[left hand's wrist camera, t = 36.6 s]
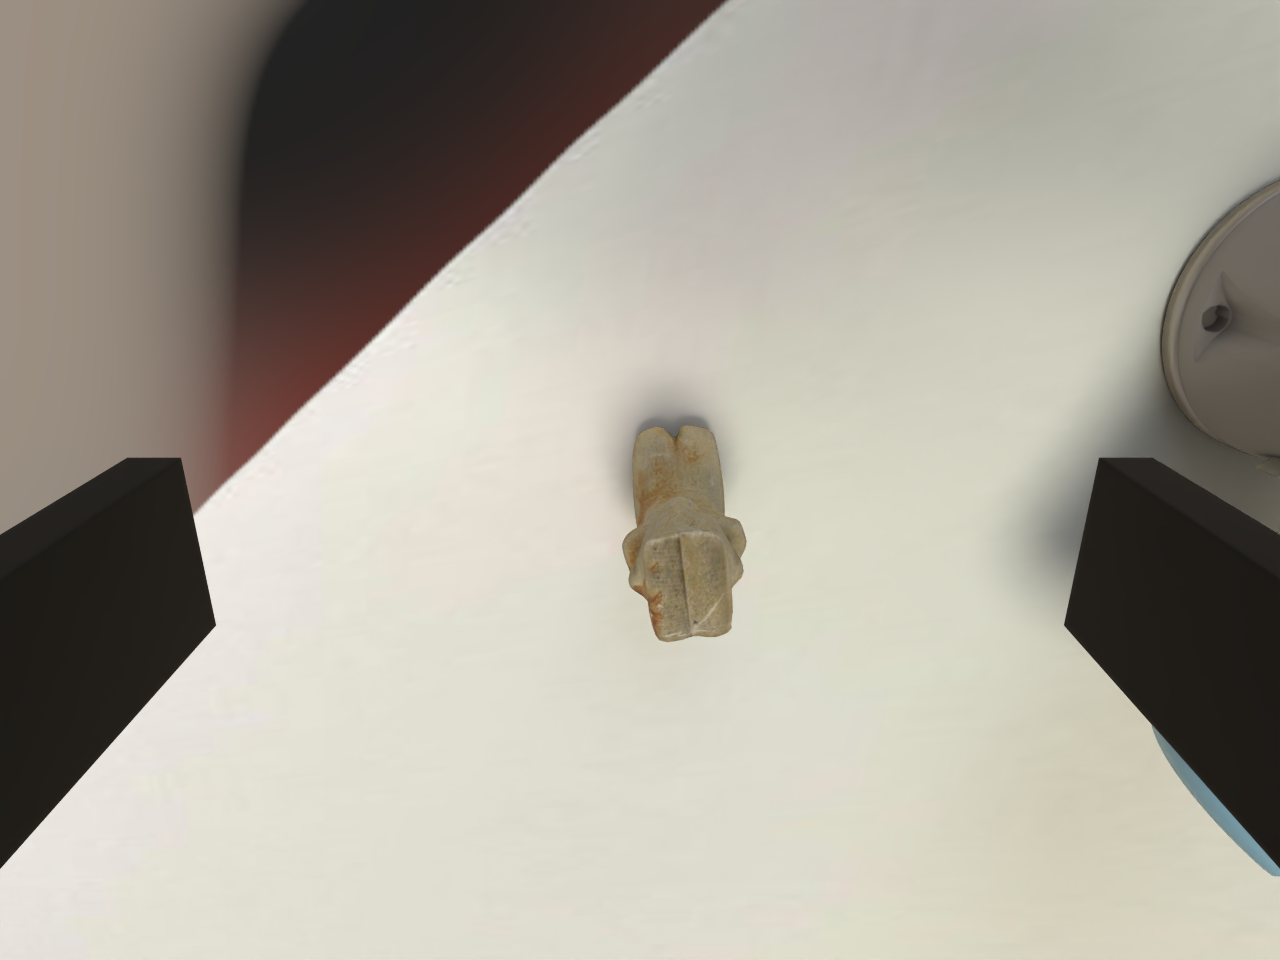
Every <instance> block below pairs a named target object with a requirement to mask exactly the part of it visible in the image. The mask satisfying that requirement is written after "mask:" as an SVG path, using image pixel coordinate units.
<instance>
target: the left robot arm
mask: <svg viewBox="0 0 1280 960" xmlns="http://www.w3.org/2000/svg"><path fill="white" fill-rule="evenodd" d="M1162 358H1163V366H1164V372H1165V376H1166V380H1167V383H1168V386H1169V389H1170V391H1171V393H1172V395H1173V397H1174V399H1175V401H1176V403H1177V404H1178V406H1179V408H1180V409H1181V410H1182V412H1183V413H1184V414H1185V415H1186V417H1187V418H1188V419H1189V420H1190V421H1191V422H1192V423H1193V424H1194V425H1195V426H1196V427H1198V428H1199V429H1200V430H1202V431H1203V432H1204V433H1206V434H1207V435H1209V436H1211V437H1213V438H1214V439H1216V440H1218V441H1220V442H1222V443H1224V444H1226V445H1228V446H1230V447H1232V448H1234V449H1237V450H1239V451H1241V452H1244V453H1247V454H1250V455H1254V456H1258V457H1262V458H1265V459H1268V460H1266V461H1264V462H1262V463H1260V464H1259V465H1257V466H1255V467H1257V468H1259V469H1261V470H1262V471H1264V472H1266V473H1268V474H1270V475H1272V476H1274V477H1275V476H1277V475H1279V474H1280V180H1279V181H1277V182H1275V183H1273V184H1271V185H1269V186H1267V187H1265V188H1264V189H1262V190H1260V191H1259V192H1257V193H1255V194H1254V195H1252V196H1251V197H1249V198H1248V199H1247V200H1245V201H1244V202H1242V203H1241V204H1240V205H1238V206H1237V207H1236V208H1235V209H1234V210H1232V211H1231V212H1230V213H1229V214H1228V215H1227V216H1226V217H1225V218H1223V219H1222V220H1221V221H1220V222H1219V223H1218V224H1217V225H1216V226H1215V227H1214V228H1213V230H1212V231H1211V232H1210V233H1209V234H1208V235H1207V236H1206V238H1205V239H1204V240H1203V241H1202V243H1201V244H1200V245H1199V247H1198V248H1197V249H1196V251H1195V252H1194V253H1193V255H1192V256H1191V258H1190V260H1189V261H1188V263H1187V264H1186V266H1185V268H1184V270H1183V271H1182V273H1181V275H1180V277H1179V279H1178V281H1177V284H1176V286H1175V288H1174V291H1173V293H1172V296H1171V299H1170V302H1169V305H1168V308H1167V312H1166V316H1165V321H1164V327H1163V335H1162ZM215 626H216V623H215V618H214V613H213V609H212V604H211V599H210V594H209V590H208V585H207V580H206V575H205V571H204V566H203V561H202V556H201V551H200V547H199V542H198V537H197V532H196V528H195V523H194V518H193V513H192V509H191V504H190V499H189V494H188V489H187V485H186V480H185V475H184V470H183V466H182V461H181V458H126V459H125V460H123V461H121V462H120V463H118V464H116V465H115V466H113V467H111V468H110V469H108V470H106V471H105V472H103V473H101V474H100V475H98V476H96V477H95V478H93V479H92V480H90V481H88V482H87V483H85V484H83V485H82V486H80V487H78V488H77V489H75V490H73V491H72V492H70V493H68V494H67V495H65V496H63V497H62V498H60V499H59V500H57V501H55V502H54V503H52V504H50V505H49V506H47V507H45V508H44V509H42V510H40V511H39V512H37V513H36V514H34V515H32V516H30V517H29V518H27V519H26V520H24V521H22V522H21V523H19V524H17V525H16V526H14V527H12V528H11V529H9V530H7V531H6V532H4V533H2V534H1V535H0V868H1V867H2V866H3V865H4V864H5V863H6V862H7V861H8V859H9V858H10V857H11V856H12V855H13V854H14V853H15V852H16V850H17V849H18V848H19V847H20V846H21V845H22V844H23V843H24V841H25V840H26V839H27V838H28V837H29V836H30V835H31V833H32V832H33V831H34V830H35V829H36V828H37V827H38V826H39V824H40V823H41V822H42V821H43V820H44V819H45V818H46V817H47V815H48V814H49V813H50V812H51V811H52V810H53V809H54V808H55V806H56V805H57V804H58V803H59V802H60V801H61V800H62V799H63V797H64V796H65V795H66V794H67V793H68V792H69V791H70V789H71V788H72V787H73V786H74V785H75V784H76V783H77V782H78V780H79V779H80V778H81V777H82V776H83V775H84V774H85V773H86V771H87V770H88V769H89V768H90V767H91V766H92V765H93V764H94V762H95V761H96V760H97V759H98V758H99V757H100V756H101V755H102V753H103V752H104V751H105V750H106V749H107V748H108V747H109V745H110V744H111V743H112V742H113V741H114V740H115V739H116V738H117V736H118V735H119V734H120V733H121V732H122V731H123V730H124V729H125V727H126V726H127V725H128V724H129V723H130V722H131V721H132V720H133V718H134V717H135V716H136V715H137V714H138V713H139V712H140V711H141V709H142V708H143V707H144V706H145V705H146V704H147V703H148V702H149V700H150V699H151V698H152V697H153V696H154V695H155V694H156V692H157V691H158V690H159V689H160V688H161V687H162V686H163V685H164V683H165V682H166V681H167V680H168V679H169V678H170V677H171V676H172V674H173V673H174V672H175V671H176V670H177V669H178V668H179V667H180V665H181V664H182V663H183V662H184V661H185V660H186V659H187V658H188V656H189V655H190V654H191V653H192V652H193V651H194V650H195V648H196V647H197V646H198V645H199V644H200V643H201V642H202V641H203V639H204V638H205V637H206V636H207V635H208V634H209V633H210V632H211V630H212V629H213V628H214V627H215ZM1064 626H1065V627H1066V628H1067V629H1068V630H1069V632H1070V633H1071V634H1072V635H1073V636H1074V637H1075V638H1076V639H1077V641H1078V642H1079V643H1080V644H1081V645H1082V646H1083V647H1084V648H1085V650H1086V651H1087V652H1088V653H1089V654H1090V655H1091V656H1092V658H1093V659H1094V660H1095V661H1096V662H1097V663H1098V664H1099V665H1100V667H1101V668H1102V669H1103V670H1104V671H1105V672H1106V673H1107V674H1108V676H1109V677H1110V678H1111V679H1112V680H1113V681H1114V682H1115V683H1116V685H1117V686H1118V687H1119V688H1120V689H1121V690H1122V691H1123V692H1124V694H1125V695H1126V696H1127V697H1128V698H1129V699H1130V700H1131V702H1132V703H1133V704H1134V705H1135V706H1136V707H1137V708H1138V709H1139V711H1140V712H1141V713H1142V714H1143V715H1144V716H1145V717H1146V718H1147V720H1148V721H1149V722H1150V723H1151V724H1152V728H1153V731H1154V734H1155V737H1156V739H1157V741H1158V743H1159V745H1160V747H1161V749H1162V751H1163V753H1164V755H1165V757H1166V758H1167V760H1168V762H1169V763H1170V765H1171V766H1172V768H1173V769H1174V771H1175V772H1176V774H1177V775H1178V777H1179V778H1180V779H1181V781H1182V782H1183V784H1184V785H1185V786H1186V788H1187V789H1188V790H1189V791H1190V793H1191V794H1192V795H1193V796H1194V798H1195V799H1196V800H1197V801H1198V802H1199V804H1200V805H1201V806H1202V807H1203V808H1204V810H1205V811H1206V812H1207V813H1208V814H1209V815H1210V816H1211V817H1212V818H1213V820H1214V821H1215V822H1216V823H1217V824H1218V825H1219V826H1220V827H1221V828H1222V829H1223V830H1224V831H1225V832H1226V833H1227V834H1228V836H1229V837H1230V838H1231V839H1232V840H1233V841H1234V842H1235V843H1236V844H1237V845H1238V846H1239V847H1240V848H1241V849H1242V850H1243V851H1245V852H1246V853H1247V854H1248V855H1249V856H1250V857H1251V858H1252V859H1253V860H1254V861H1255V862H1256V863H1257V864H1259V865H1260V866H1261V867H1262V868H1263V869H1264V870H1266V871H1267V872H1268V873H1270V874H1271V875H1272V876H1280V531H1279V532H1278V533H1276V532H1274V531H1273V530H1271V529H1269V528H1268V527H1266V526H1264V525H1263V524H1261V523H1259V522H1258V521H1256V520H1254V519H1253V518H1251V517H1250V516H1248V515H1246V514H1245V513H1243V512H1241V511H1240V510H1238V509H1236V508H1235V507H1233V506H1231V505H1230V504H1228V503H1226V502H1225V501H1223V500H1221V499H1220V498H1218V497H1217V496H1215V495H1213V494H1212V493H1210V492H1208V491H1207V490H1205V489H1203V488H1202V487H1200V486H1198V485H1197V484H1195V483H1193V482H1192V481H1190V480H1188V479H1187V478H1185V477H1184V476H1182V475H1180V474H1179V473H1177V472H1175V471H1174V470H1172V469H1170V468H1169V467H1167V466H1165V465H1164V464H1162V463H1160V462H1159V461H1157V460H1155V459H1154V458H1099V461H1098V466H1097V470H1096V475H1095V480H1094V485H1093V489H1092V494H1091V499H1090V504H1089V508H1088V513H1087V518H1086V523H1085V528H1084V532H1083V537H1082V542H1081V547H1080V551H1079V556H1078V561H1077V566H1076V571H1075V575H1074V580H1073V585H1072V590H1071V594H1070V599H1069V604H1068V609H1067V613H1066V618H1065V623H1064Z"/></svg>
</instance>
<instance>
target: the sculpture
mask: <svg viewBox="0 0 1280 960" xmlns="http://www.w3.org/2000/svg"><path fill="white" fill-rule="evenodd" d="M633 492H634V505H635V515H636V523H637V528H636V529H634V530H632V531H631V532H630V533H629V534H628V535H627V536H626V537H625V539H624V541H623V544H622V547H623V553H624V557H625V560H626V563H627V565H628V567H629V571H630V575H629V584H630V587H631V588H632V589H633V590H635V591H636V592H638V593H639V594H641V595H642V596H643V597H644V598H645V599H646V600H647V601H648V606H649V613H650V617H651V622H652V626H653V629H654V632H655V634H656V636H657V637H658V639H659V640H661V641H665V642H672V641H678V640H683V639H686V638H688V637H692V636H703V637H717V636H720V635H723V634H725V633H727V632H728V631H729V630H730V629H731V621H732V613H733V605H732V590H731V589H732V587H733V586H734V585H735V584H736V583H737V581H738V580H739V579H740V578H741V577H742V574H743V565H742V562H741V559H740V558H741V556H742V554H743V552H744V550H745V547H746V537H745V534H744V531H743V528H742V525H741V523H740V521H738V520H736V519H733V518H730V517H726V516H725V507H724V491H723V481H722V473H721V466H720V460H719V455H718V450H717V446H716V441H715V437H714V435H713V433H712V432H711V431H710V430H708V429H706V428H702V427H696V426H690V425H685V426H682V427H681V428H680V430H679V433H678V435H677V437H673V436H672V435H670V434H669V433H668V432H667V431H666V430H665V429H663V428H661V427H652V428H650V429H647V430H645V431H642V432H641V433H640V434H639V435H638V437H637V439H636V441H635V444H634V451H633Z"/></svg>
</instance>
